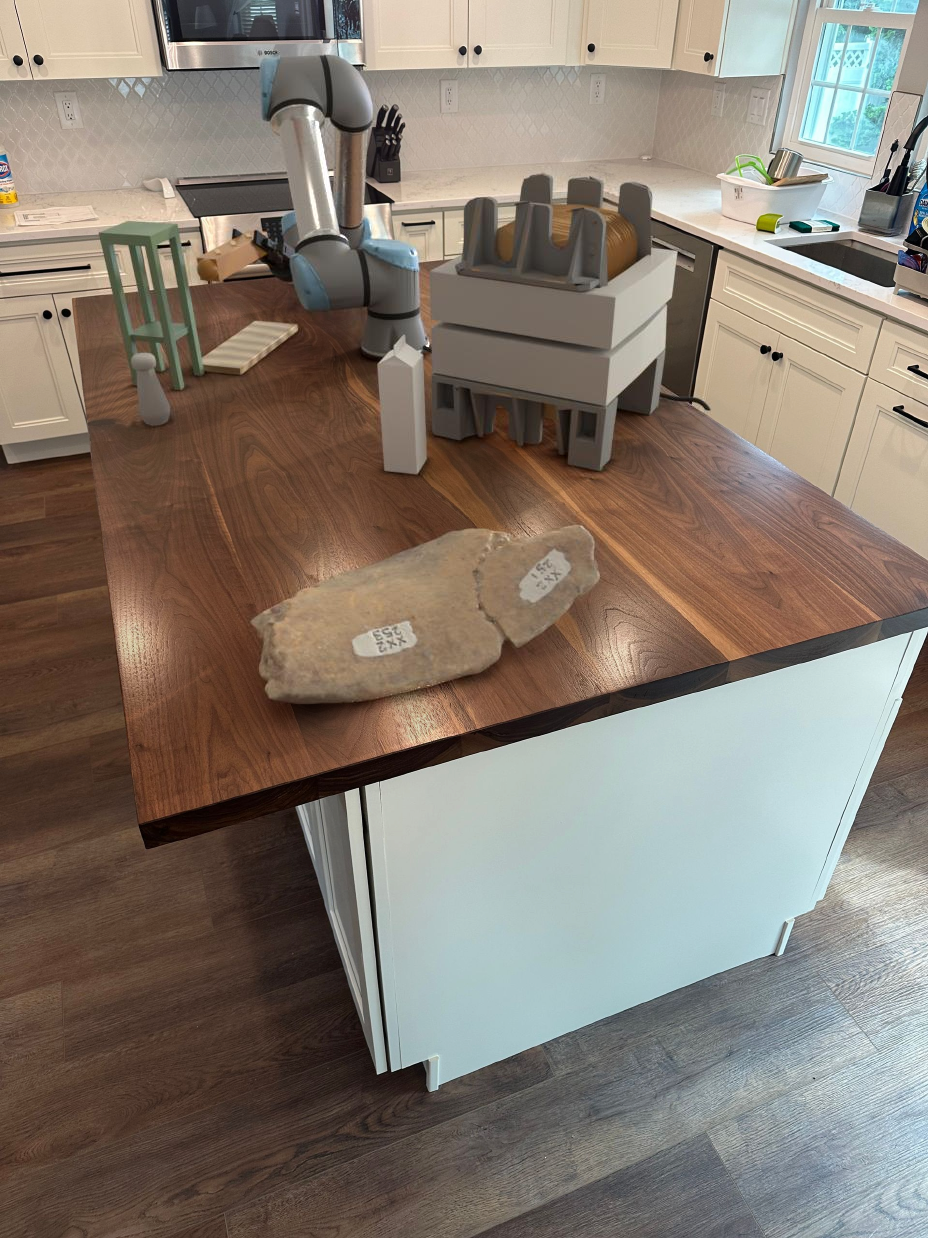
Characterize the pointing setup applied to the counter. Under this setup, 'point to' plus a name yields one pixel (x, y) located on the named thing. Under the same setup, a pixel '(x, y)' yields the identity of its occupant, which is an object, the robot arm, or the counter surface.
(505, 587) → the rock
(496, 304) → the transformer
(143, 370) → the salt shaker
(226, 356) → the bread board
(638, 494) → the counter surface
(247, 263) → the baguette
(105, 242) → the green shelf
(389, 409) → the milk
